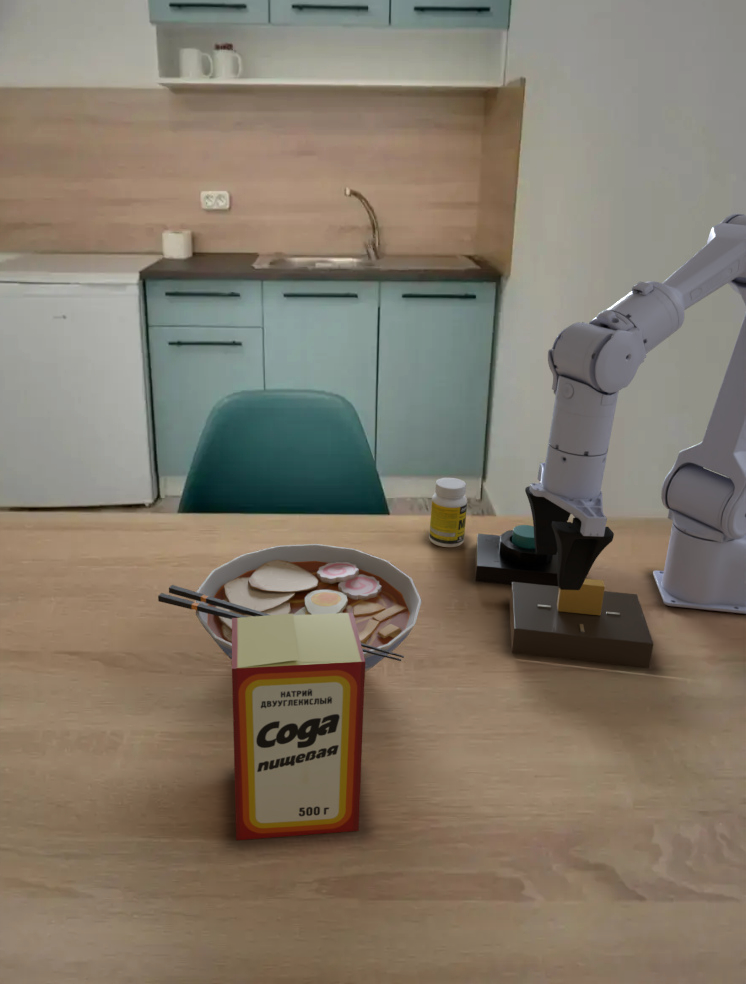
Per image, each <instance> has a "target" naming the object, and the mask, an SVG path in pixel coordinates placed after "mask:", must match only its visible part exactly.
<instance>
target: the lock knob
mask: <svg viewBox="0 0 746 984" xmlns="http://www.w3.org/2000/svg"><path fill="white" fill-rule="evenodd" d="M605 588H606V586H605V582H604V580H603V579H595V578H586V579H585V581H584V583H583V585H582V587H581V588H580V590H561V589H560V588H559V592H558V600H557V609H558V611H561V612H571V613H580V614H590V615H599V616H600V615H601V608H602V602H603V595H604V591H605Z"/></svg>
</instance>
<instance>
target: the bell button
mask: <svg viewBox="0 0 746 984" xmlns="http://www.w3.org/2000/svg"><path fill="white" fill-rule="evenodd" d="M512 530H513V536H512V543H513V544H514V545H516V546H519V547H521V548H528V549H534V548H535V541H534V526H533V525H530V524H519V525H516V526H514V527H513V528H512Z"/></svg>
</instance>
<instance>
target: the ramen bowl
mask: <svg viewBox="0 0 746 984" xmlns="http://www.w3.org/2000/svg"><path fill="white" fill-rule="evenodd" d="M171 594H172V595H171ZM174 595H176V596H174ZM189 599H190V600H189ZM157 601H158V602H161V603H163V604H168V605H172V606H176V607H180V608H184V609H189V610H194V611H195V616H196V618H197V619H198V620H199V622H200V624H201V625H202V627H203V629H204V630H205V631H206V632H207V634H208V635H209V636H210V637H211V638H212V639H213V641H214V642H215V643H216V644H217V645H218V647H219V648H220V649H221V650H222V652H224V654H225V655H226V656H227V657H228V658H229V659H230V660H231V661H232V618H241V617H254V616H267V615H281V614H293V615H312V614H333V613H353V615H354V619H355V623H356V626H357V630H358V634H359V638H360V642H361V646H362V650H363V654H364V658H365V673H367V672H368V671H370V670H371V669H372V668H373V667H375V666H376V665H377V664H378V663H380V662H381V661H383V659H384V658H386V659H391V660H394V661H400V662H402V659H404V657H405V655H402V654H399V653H396V652H393V651H395V649H397V648H398V647H399V646H400V645H401V644H402V643H403V641H405V639H406V638H407V637H408V636H409V634H410V633H411V632H412V630H413V629H414V627H415V625H416V622H417V621H418V616H419V612H420V608H421V605H422V601H423V600H422V598H421V595H420V593H419V591H418V589H417V587H416V584H415V582H414V580H413V578H412V577H411V576H409V575H408V574H407V573H405V572H404V571H402V570H401V569H400V568H398V567H397V566H395V565H394V564H393V563H391V562H390V560H387V559H384V558H381V557H378V556H376V555H372V554H371V553H367V552H365V551H362V550H360V549H356V548H352V547H344V546H336V545H328V544H321V543H308V544H287V545H285V544H284V545H283V544H282V545H275V546H270V547H267V548H263V549H259V550H256V551H251V552H248V553H244V554H240V555H238V556H236V557H234V558H232V559H231V560H229V561H227V562H225V563H224V564H222V565H219V566H218V567H215V568H214V569H212V570H211V572H209V574H208V576H207V577H206V578H205V579H204V581H203V582H202V583H201V585H199V587H198V588H197V589H196V591H194V590H191V589H188V588H184V587H181V586H178V585H175V584H171V585H170V586H169V587H168V594H167V593H163V592H161V593H159V594H158V596H157Z"/></svg>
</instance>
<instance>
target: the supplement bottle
mask: <svg viewBox="0 0 746 984" xmlns="http://www.w3.org/2000/svg"><path fill="white" fill-rule="evenodd" d="M466 493H467V483H466V482H465V481H464V480H462V479H460V478H456V477H441V478H438V479H437V480H436V481H435V487H434V493H433V495H432V496H431V504H430V505H431V506H430V519H429V531H428V539H429V541H430V542H431V543H432V544H433V545H435V546H438V547H442V548H456V547H459V546H461V545H462V544H463V543H464V541H465V533H466V522H467V521H466V520H467V509H468V498H467V496H466Z"/></svg>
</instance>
